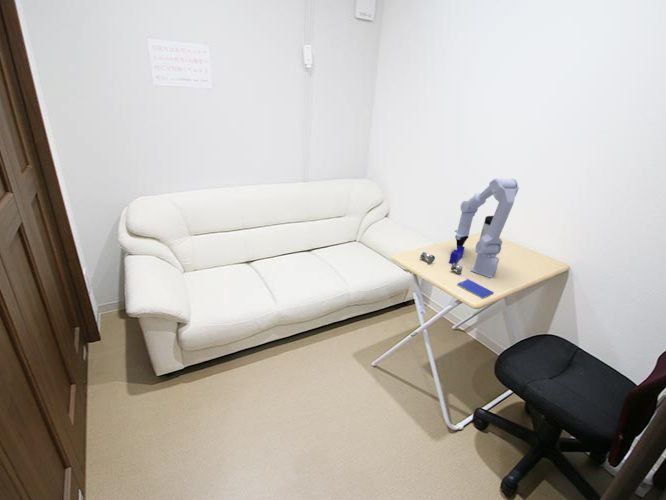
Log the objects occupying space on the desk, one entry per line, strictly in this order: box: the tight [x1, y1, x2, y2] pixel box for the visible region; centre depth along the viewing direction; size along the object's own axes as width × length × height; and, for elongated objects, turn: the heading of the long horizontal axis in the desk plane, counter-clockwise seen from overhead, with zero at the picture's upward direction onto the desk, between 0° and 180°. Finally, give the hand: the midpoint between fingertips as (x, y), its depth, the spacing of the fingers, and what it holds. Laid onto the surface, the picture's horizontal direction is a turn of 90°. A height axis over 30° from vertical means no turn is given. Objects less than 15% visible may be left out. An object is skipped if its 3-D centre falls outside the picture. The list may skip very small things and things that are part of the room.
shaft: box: [419, 251, 436, 263], centre depth 169 cm, size 6×4×4 cm, turn 33°
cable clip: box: [448, 245, 465, 265], centre depth 174 cm, size 12×4×6 cm, turn 145°
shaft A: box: [450, 263, 463, 275], centre depth 161 cm, size 4×4×4 cm
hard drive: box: [456, 278, 495, 300], centre depth 149 cm, size 2×8×12 cm
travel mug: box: [479, 215, 494, 239], centre depth 181 cm, size 6×7×20 cm
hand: (459, 248), depth 182 cm, fingers closed
